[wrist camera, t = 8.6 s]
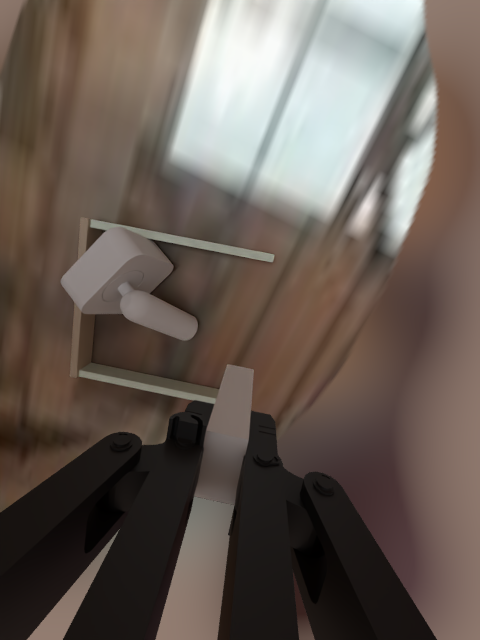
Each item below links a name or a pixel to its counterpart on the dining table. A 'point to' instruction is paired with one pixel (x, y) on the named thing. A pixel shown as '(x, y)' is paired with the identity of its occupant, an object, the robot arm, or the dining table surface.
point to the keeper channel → (86, 322)
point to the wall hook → (126, 283)
